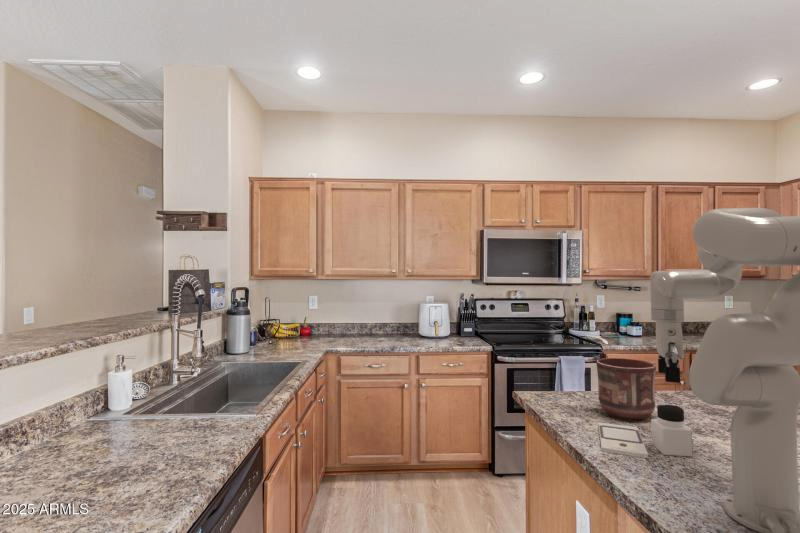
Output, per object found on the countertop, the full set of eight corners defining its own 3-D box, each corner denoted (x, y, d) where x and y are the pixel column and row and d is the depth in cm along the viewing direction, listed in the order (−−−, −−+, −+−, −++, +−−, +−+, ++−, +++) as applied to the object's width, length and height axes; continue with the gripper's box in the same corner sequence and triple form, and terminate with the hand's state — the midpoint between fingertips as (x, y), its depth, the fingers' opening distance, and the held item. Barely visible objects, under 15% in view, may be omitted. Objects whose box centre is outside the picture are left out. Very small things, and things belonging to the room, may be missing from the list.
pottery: (645, 429, 121) (644, 371, 122) (588, 414, 135) (587, 361, 135) (665, 416, 132) (663, 363, 133) (610, 403, 146) (609, 355, 146)
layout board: (648, 458, 102) (648, 453, 102) (601, 451, 107) (601, 446, 107) (637, 430, 120) (637, 426, 120) (598, 425, 125) (598, 421, 125)
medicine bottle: (693, 457, 102) (691, 411, 103) (663, 455, 104) (661, 409, 104) (679, 445, 109) (678, 402, 110) (651, 443, 111) (650, 401, 111)
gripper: (692, 319, 98) (693, 387, 98) (676, 312, 114) (677, 371, 114) (656, 318, 101) (658, 384, 101) (646, 311, 117) (647, 368, 117)
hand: (668, 377), depth 107 cm, fingers open, 9 cm apart
